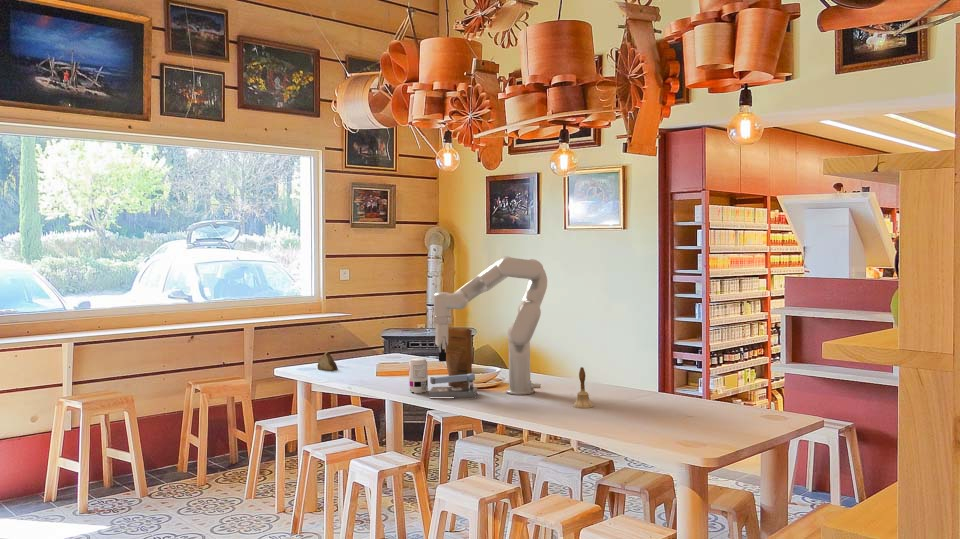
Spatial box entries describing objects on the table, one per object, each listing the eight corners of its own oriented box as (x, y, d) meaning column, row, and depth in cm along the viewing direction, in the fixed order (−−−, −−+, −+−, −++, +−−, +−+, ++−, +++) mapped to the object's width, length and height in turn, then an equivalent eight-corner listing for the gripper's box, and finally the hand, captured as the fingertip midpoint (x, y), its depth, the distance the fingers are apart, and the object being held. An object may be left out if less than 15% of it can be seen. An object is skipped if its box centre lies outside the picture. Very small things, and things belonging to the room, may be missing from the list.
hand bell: (577, 409, 315) (577, 370, 314) (570, 404, 323) (569, 366, 322) (596, 407, 317) (596, 368, 316) (588, 402, 325) (587, 365, 324)
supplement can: (406, 393, 352) (405, 360, 351) (416, 389, 359) (415, 357, 358) (421, 394, 348) (420, 361, 347) (431, 390, 355) (430, 358, 355)
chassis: (477, 393, 348) (476, 379, 347) (475, 398, 338) (474, 384, 337) (432, 393, 350) (432, 379, 349) (429, 398, 340) (429, 384, 339)
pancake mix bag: (468, 390, 354) (466, 329, 352) (439, 385, 367) (438, 326, 366) (478, 388, 359) (477, 327, 357) (450, 382, 372) (448, 324, 370)
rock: (311, 365, 415) (319, 365, 407) (319, 351, 418) (327, 351, 410) (327, 375, 420) (335, 375, 412) (335, 361, 423) (343, 361, 415)
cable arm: (473, 378, 348) (473, 373, 348) (476, 380, 344) (475, 374, 344) (430, 382, 341) (430, 377, 341) (432, 384, 338) (432, 378, 338)
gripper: (432, 318, 352) (432, 358, 353) (435, 322, 337) (435, 364, 339) (448, 318, 353) (448, 358, 355) (453, 322, 339) (453, 363, 340)
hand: (442, 361), depth 347 cm, fingers closed
